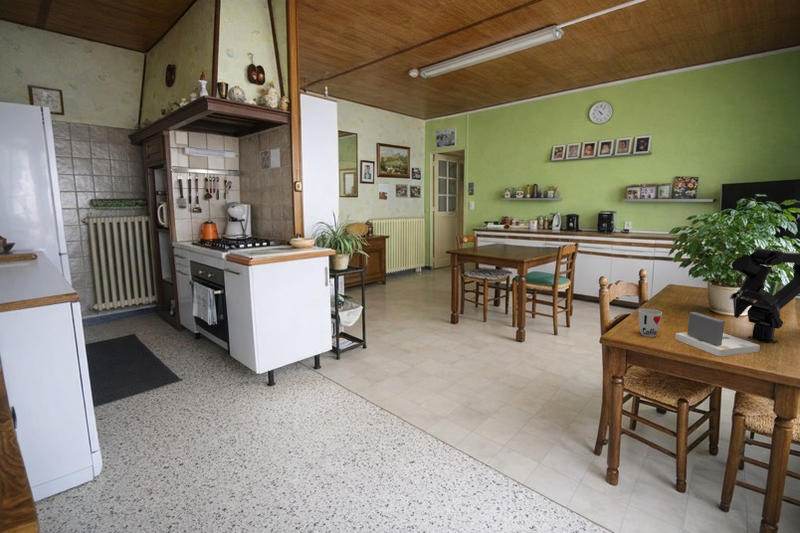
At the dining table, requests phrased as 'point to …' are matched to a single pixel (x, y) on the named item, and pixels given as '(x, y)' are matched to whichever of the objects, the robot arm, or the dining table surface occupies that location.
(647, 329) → the cup
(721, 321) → the slider tab
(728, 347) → the switch board
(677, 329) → the dining table surface
